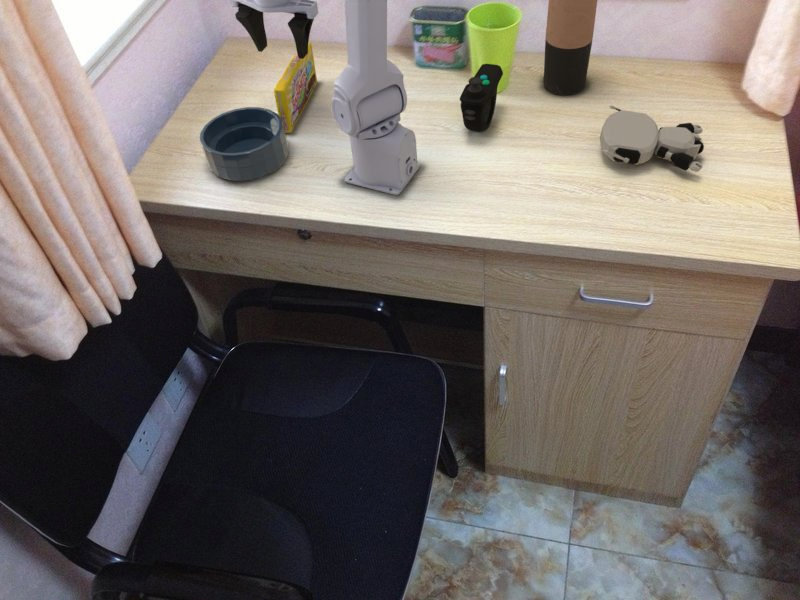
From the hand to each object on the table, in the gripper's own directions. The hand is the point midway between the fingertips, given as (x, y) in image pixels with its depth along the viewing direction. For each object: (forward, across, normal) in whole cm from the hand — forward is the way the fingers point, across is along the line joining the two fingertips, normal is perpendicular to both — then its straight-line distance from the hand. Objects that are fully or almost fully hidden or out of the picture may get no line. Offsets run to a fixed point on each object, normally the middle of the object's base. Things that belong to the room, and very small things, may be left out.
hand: (282, 52), depth 114 cm
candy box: (+11, -2, 0) cm, 11 cm away
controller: (+9, -34, -3) cm, 35 cm away
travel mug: (+9, -44, -18) cm, 49 cm away
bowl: (+10, 0, +16) cm, 19 cm away
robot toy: (+8, -61, -1) cm, 61 cm away
